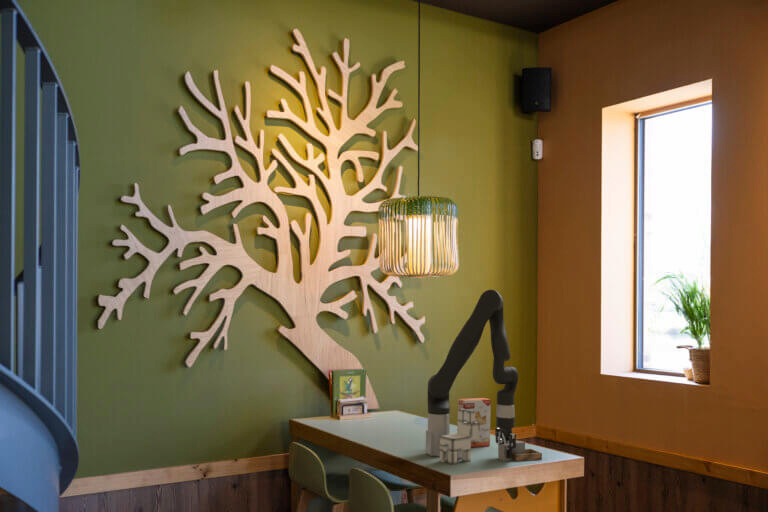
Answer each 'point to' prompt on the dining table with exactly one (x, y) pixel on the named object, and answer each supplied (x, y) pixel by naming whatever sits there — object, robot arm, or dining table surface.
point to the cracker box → (479, 417)
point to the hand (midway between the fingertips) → (505, 456)
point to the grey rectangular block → (519, 448)
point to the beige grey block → (503, 452)
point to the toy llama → (460, 439)
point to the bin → (527, 455)
